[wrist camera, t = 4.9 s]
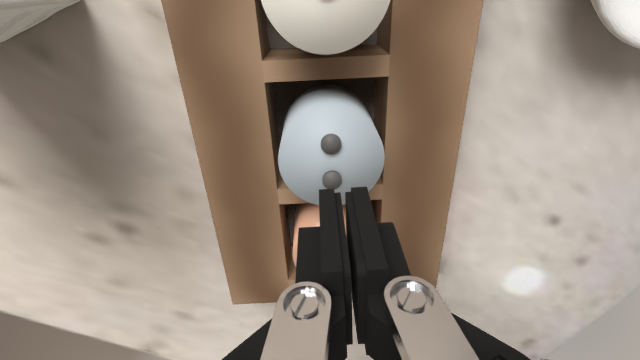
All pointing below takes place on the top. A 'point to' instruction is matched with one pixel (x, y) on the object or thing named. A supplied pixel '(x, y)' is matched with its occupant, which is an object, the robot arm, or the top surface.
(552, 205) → the top surface
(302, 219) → the three-pip button
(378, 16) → the one-pip button
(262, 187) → the wooden three-slot caddy
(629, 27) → the spoon rest
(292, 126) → the two-pip button
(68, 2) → the skincare box
